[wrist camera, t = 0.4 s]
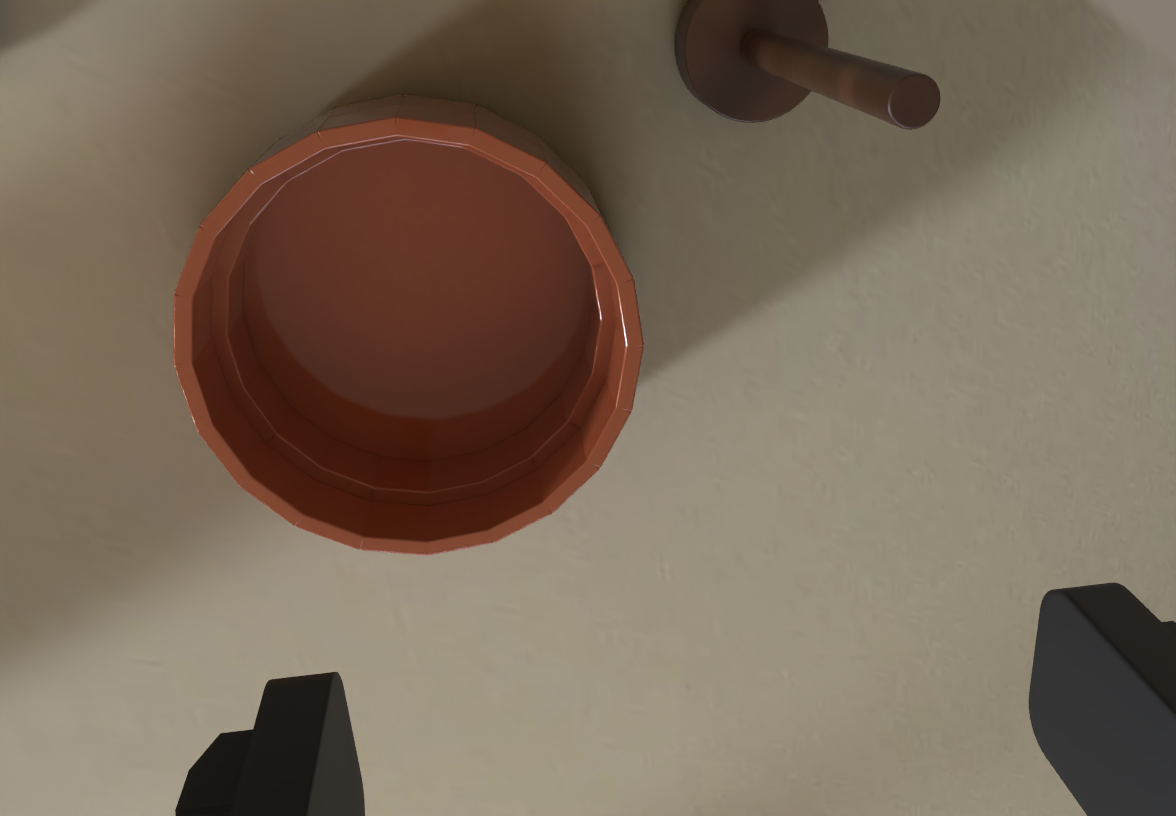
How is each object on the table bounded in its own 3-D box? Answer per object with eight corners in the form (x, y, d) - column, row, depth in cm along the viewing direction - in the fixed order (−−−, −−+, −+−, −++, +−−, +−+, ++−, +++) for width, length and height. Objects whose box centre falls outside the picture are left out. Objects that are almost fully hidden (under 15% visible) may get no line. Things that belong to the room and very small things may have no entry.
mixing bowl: (129, 310, 39) (75, 368, 34) (400, -2, 36) (387, 7, 31) (437, 544, 45) (433, 627, 39) (698, 290, 41) (733, 343, 36)
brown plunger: (645, 44, 38) (757, 105, 23) (748, -66, 36) (935, -75, 22) (738, 143, 39) (896, 259, 25) (839, 41, 38) (1068, 99, 24)
